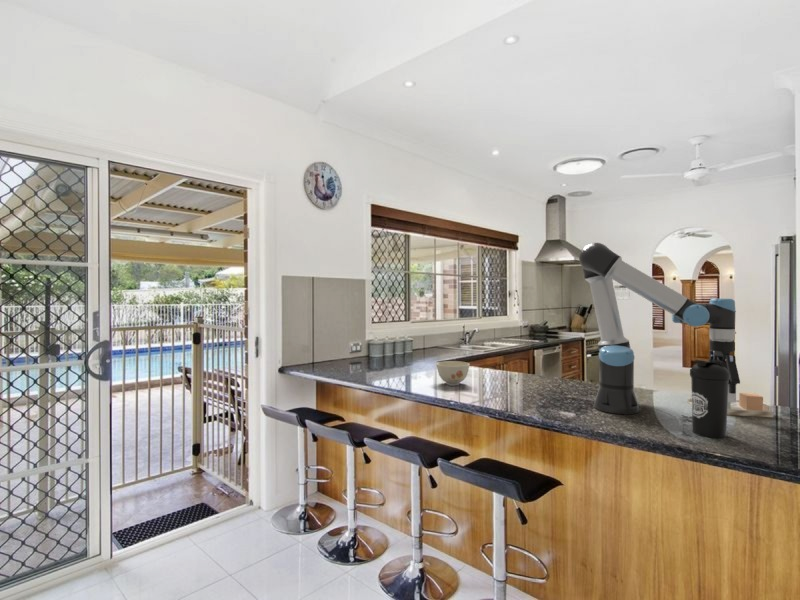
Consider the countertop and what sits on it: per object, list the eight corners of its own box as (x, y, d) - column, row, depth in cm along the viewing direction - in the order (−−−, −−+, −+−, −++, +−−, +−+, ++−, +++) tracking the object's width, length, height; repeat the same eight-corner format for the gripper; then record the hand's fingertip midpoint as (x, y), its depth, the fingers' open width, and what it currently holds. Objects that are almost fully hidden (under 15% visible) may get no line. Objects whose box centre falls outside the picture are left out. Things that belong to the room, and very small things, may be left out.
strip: (719, 411, 155) (720, 384, 155) (712, 407, 161) (712, 380, 160) (772, 414, 151) (772, 386, 151) (762, 409, 157) (762, 382, 156)
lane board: (705, 413, 155) (705, 408, 155) (687, 402, 171) (687, 398, 170) (773, 417, 150) (773, 412, 150) (748, 405, 165) (748, 401, 165)
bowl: (435, 387, 200) (435, 366, 199) (437, 380, 215) (437, 360, 215) (469, 388, 197) (469, 366, 197) (469, 381, 213) (469, 361, 212)
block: (746, 409, 153) (746, 395, 153) (739, 406, 158) (739, 392, 158) (762, 410, 152) (763, 396, 152) (755, 407, 157) (755, 393, 157)
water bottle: (681, 429, 138) (682, 358, 137) (711, 428, 139) (711, 357, 138) (706, 439, 128) (707, 363, 127) (738, 438, 128) (739, 363, 128)
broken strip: (709, 406, 162) (709, 403, 162) (702, 402, 168) (702, 399, 168) (759, 409, 159) (759, 406, 158) (750, 404, 164) (750, 402, 164)
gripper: (752, 344, 144) (752, 407, 144) (717, 336, 168) (717, 390, 168) (727, 344, 146) (726, 405, 146) (696, 336, 170) (695, 389, 170)
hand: (721, 397), depth 157 cm, fingers open, 13 cm apart
